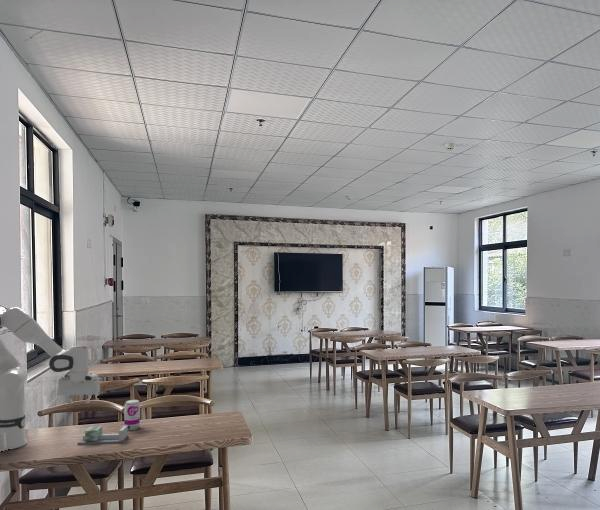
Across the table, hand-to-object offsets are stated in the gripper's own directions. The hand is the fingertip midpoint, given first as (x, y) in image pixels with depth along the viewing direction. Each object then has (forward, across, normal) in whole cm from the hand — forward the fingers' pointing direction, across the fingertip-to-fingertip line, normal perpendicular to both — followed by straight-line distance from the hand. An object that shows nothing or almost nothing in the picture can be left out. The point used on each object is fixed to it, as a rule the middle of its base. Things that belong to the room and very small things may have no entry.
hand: (78, 403), depth 228 cm
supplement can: (+20, +22, +19) cm, 35 cm away
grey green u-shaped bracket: (+20, +13, 0) cm, 23 cm away
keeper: (+18, +8, 0) cm, 20 cm away
